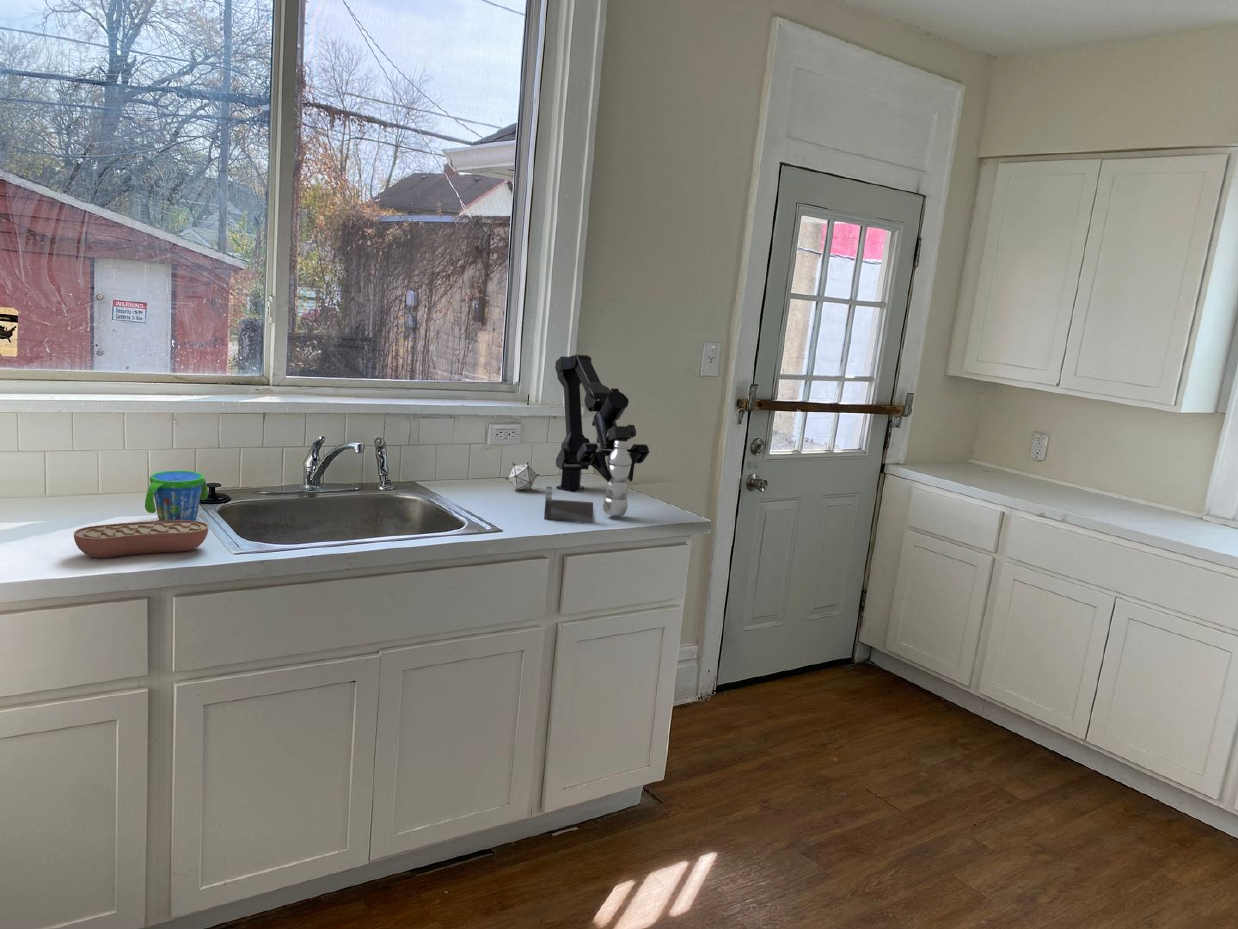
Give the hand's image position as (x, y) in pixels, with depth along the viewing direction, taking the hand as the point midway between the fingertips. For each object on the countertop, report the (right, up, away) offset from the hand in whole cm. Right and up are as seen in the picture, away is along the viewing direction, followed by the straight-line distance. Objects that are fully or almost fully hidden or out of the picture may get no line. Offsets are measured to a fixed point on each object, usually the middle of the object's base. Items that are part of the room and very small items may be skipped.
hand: (620, 480), depth 231 cm
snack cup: (-97, -8, -35) cm, 103 cm away
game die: (-28, -3, +25) cm, 38 cm away
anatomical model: (-92, -13, -57) cm, 110 cm away
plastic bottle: (-2, -9, +3) cm, 10 cm away
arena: (-14, -9, +3) cm, 16 cm away
